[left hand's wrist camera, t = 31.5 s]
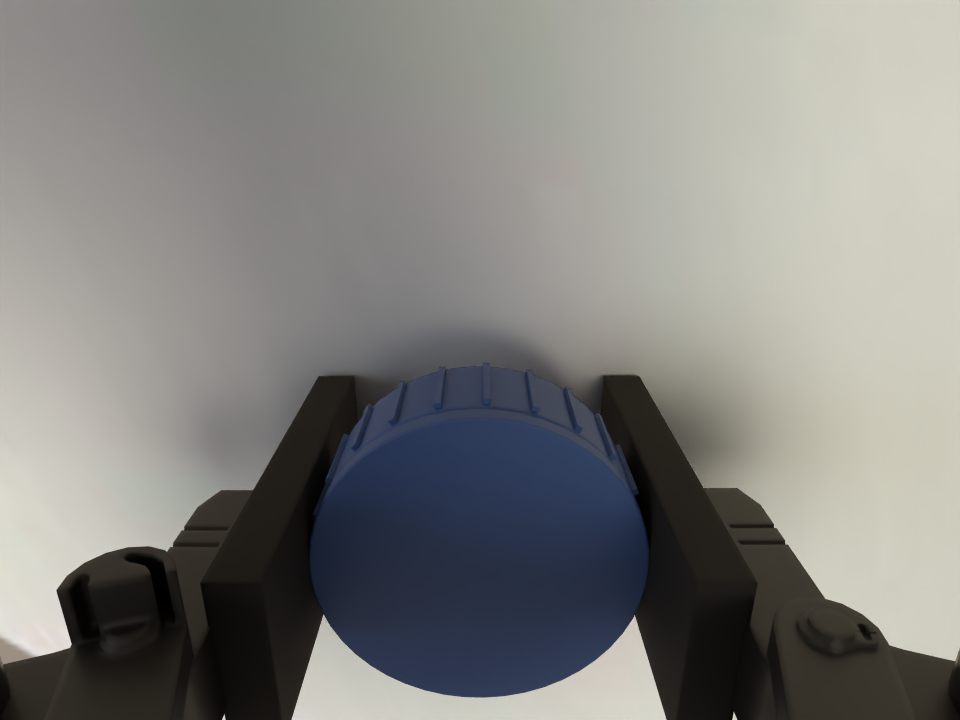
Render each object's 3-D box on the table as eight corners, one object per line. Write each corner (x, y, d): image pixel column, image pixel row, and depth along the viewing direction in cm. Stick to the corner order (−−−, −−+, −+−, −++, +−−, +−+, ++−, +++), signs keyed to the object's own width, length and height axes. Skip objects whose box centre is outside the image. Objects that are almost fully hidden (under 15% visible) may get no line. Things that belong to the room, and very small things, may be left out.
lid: (614, 337, 11) (642, 387, 9) (639, 596, 13) (665, 680, 11) (296, 385, 12) (261, 442, 10) (367, 631, 14) (349, 719, 12)
